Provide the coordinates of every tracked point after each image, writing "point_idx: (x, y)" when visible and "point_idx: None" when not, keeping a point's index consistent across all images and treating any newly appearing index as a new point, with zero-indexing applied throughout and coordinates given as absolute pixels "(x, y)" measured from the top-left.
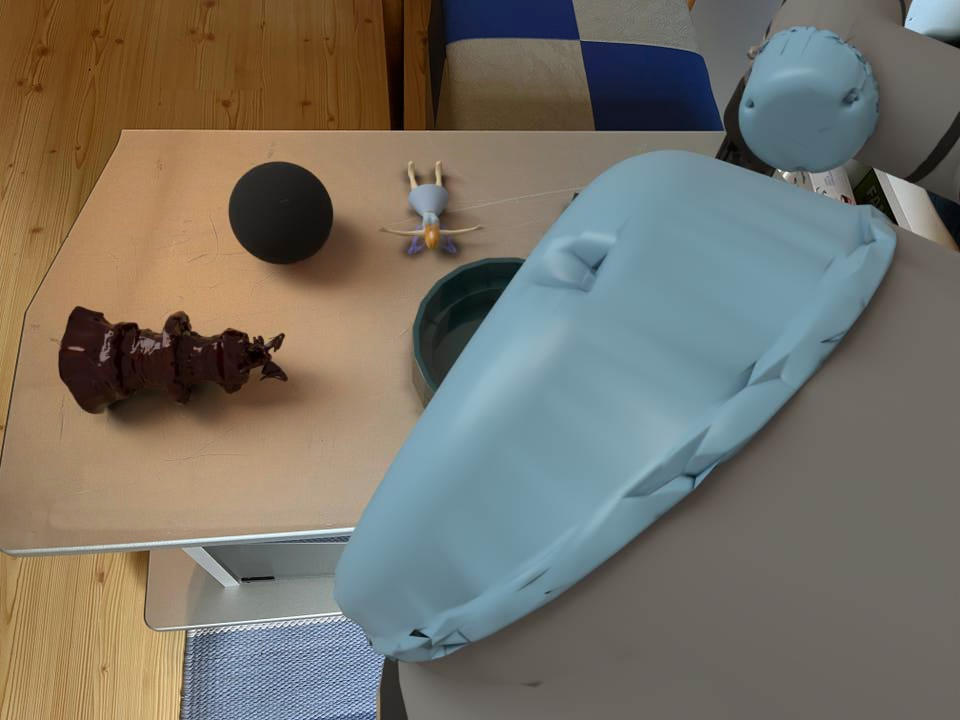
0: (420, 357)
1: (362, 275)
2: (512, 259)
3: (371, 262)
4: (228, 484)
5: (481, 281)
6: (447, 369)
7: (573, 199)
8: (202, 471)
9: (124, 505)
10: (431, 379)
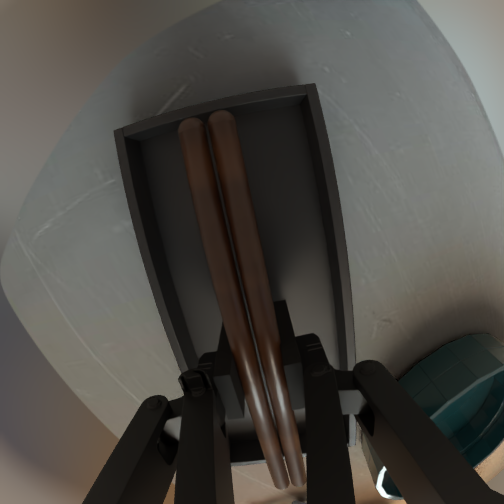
0: (476, 465)
1: (373, 495)
2: (379, 488)
3: (360, 498)
4: (499, 447)
5: (384, 474)
6: (447, 433)
7: (236, 465)
8: (492, 456)
9: (501, 460)
10: (473, 443)
